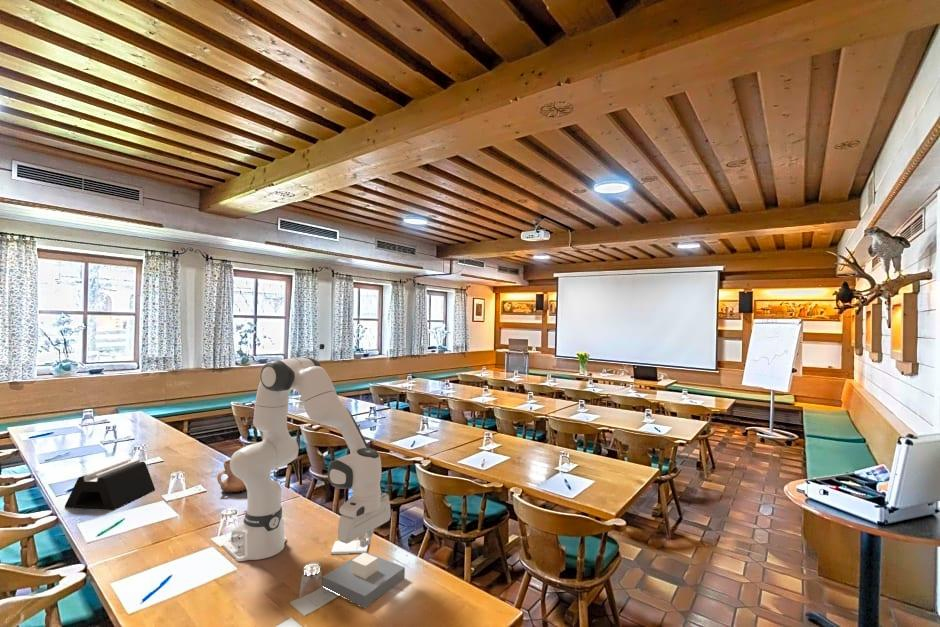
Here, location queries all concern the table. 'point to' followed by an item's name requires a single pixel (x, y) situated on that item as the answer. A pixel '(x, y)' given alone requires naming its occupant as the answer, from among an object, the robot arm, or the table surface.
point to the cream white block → (364, 565)
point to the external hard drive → (348, 547)
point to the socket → (364, 581)
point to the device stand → (111, 486)
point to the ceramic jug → (230, 480)
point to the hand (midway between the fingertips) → (365, 545)
